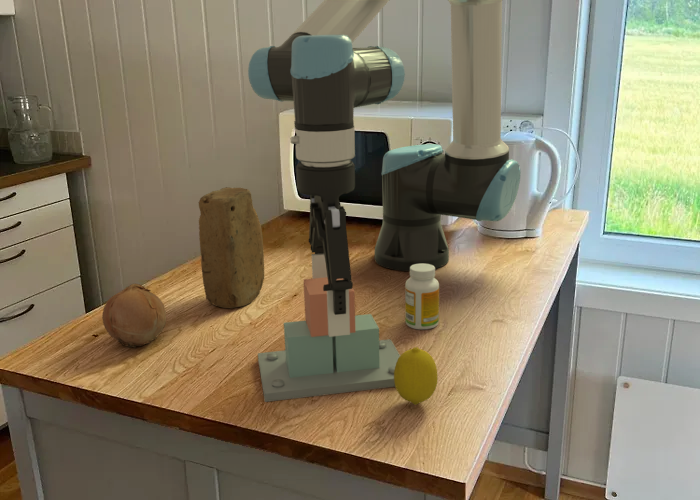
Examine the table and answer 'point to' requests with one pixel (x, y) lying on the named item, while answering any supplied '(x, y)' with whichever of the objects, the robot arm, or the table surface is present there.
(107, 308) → the onion
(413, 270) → the supplement bottle
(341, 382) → the build plate
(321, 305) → the brick block
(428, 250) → the robot arm
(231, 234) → the rough sandstone chunk
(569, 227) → the table surface
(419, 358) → the lemon
